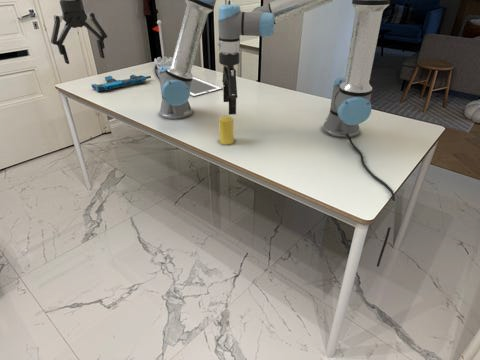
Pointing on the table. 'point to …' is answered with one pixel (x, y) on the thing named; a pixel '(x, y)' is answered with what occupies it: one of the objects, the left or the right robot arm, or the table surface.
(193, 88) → the tablet
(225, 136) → the cylinder
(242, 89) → the table surface
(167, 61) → the flag stand
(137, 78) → the submachine gun
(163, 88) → the left robot arm
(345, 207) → the table surface
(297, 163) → the table surface
